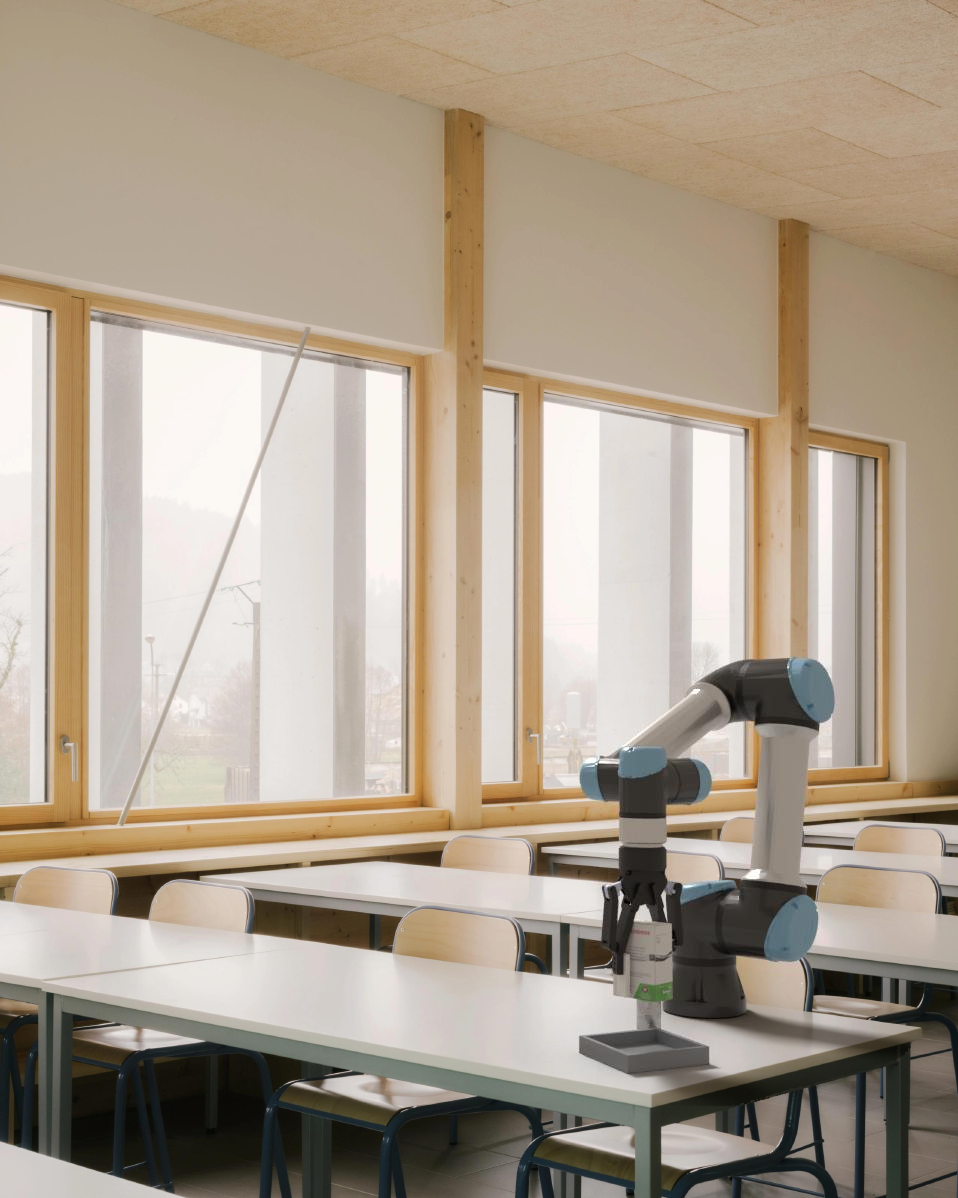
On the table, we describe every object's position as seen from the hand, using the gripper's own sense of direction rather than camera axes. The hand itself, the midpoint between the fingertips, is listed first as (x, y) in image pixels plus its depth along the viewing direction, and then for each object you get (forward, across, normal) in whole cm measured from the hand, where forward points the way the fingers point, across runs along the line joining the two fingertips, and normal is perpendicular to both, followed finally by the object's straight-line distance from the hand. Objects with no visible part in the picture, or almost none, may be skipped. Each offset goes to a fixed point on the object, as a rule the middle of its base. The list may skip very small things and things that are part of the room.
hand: (642, 994), depth 220 cm
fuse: (+10, -8, -11) cm, 17 cm away
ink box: (+1, 0, 0) cm, 1 cm away
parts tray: (+10, 0, 0) cm, 10 cm away
